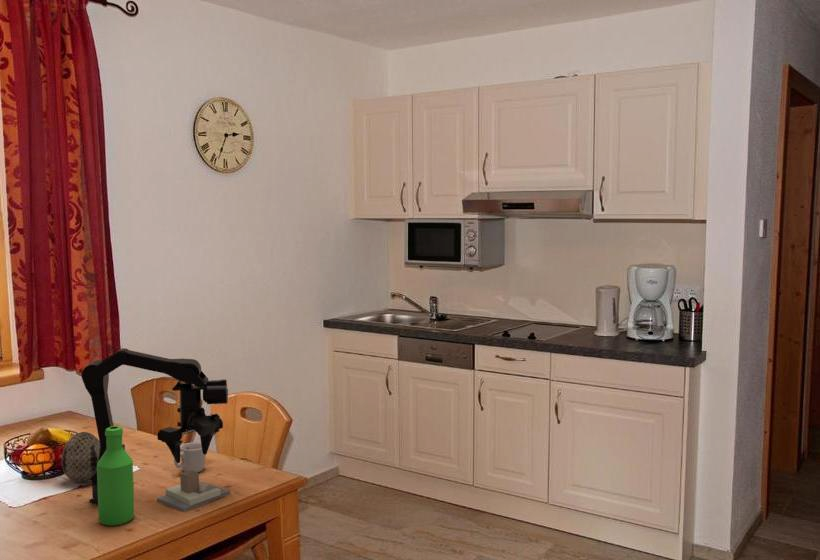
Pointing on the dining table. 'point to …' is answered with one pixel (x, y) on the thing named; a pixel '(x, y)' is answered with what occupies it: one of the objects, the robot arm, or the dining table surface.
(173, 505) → the slate board
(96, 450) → the decorative egg
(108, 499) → the bottle
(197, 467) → the cup
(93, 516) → the dining table surface
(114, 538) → the dining table surface
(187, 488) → the two-prong bracket
